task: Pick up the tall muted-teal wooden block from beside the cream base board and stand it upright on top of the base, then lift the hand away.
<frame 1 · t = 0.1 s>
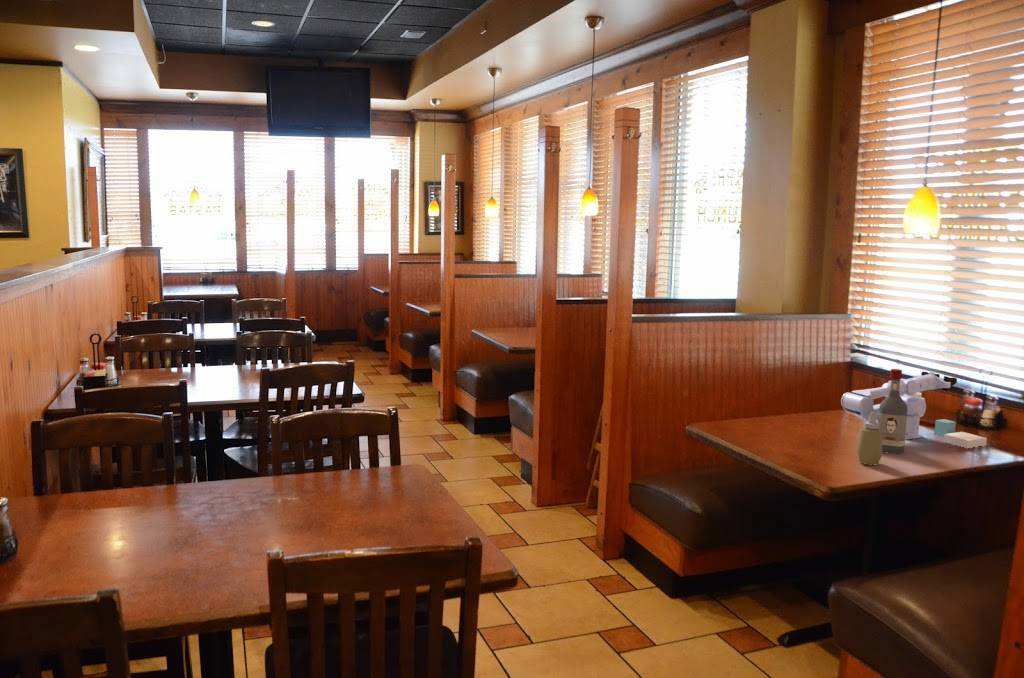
hand: (947, 378, 317), 22 cm above the table, tool horizontal, fingers open, 7 cm apart
base board: (964, 443, 303), on the table
teal block: (944, 436, 314), on the table
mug: (913, 421, 336), on the table
liquor: (889, 450, 293), on the table
squeeze bottle: (868, 463, 277), on the table
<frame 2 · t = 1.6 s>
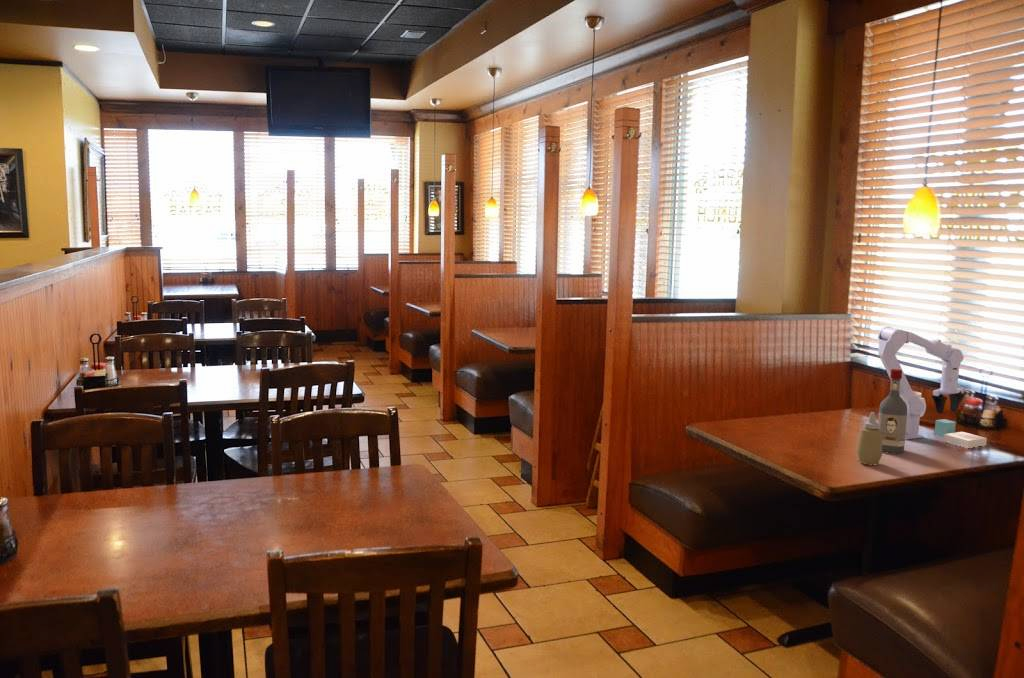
hand: (946, 412, 313), 9 cm above the table, tool pointing down, fingers open, 7 cm apart
nothing on the table moved.
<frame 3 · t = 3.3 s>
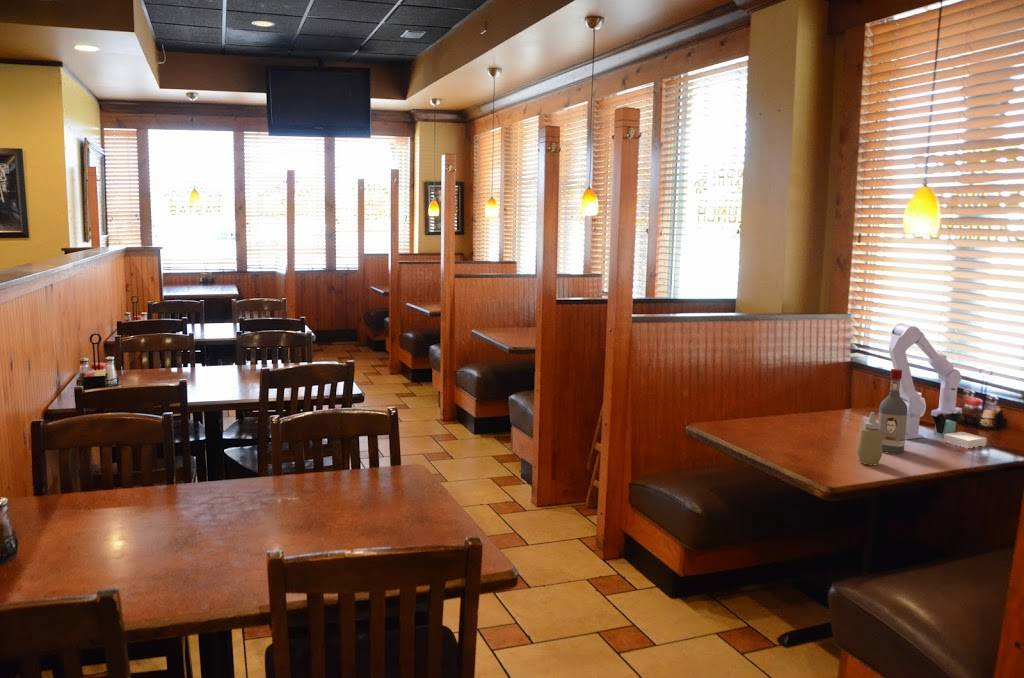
hand: (944, 432, 314), 1 cm above the table, tool pointing down, fingers closed on teal block, 5 cm apart
teal block: (944, 435, 314), on the table, touching gripper
everything else where it was.
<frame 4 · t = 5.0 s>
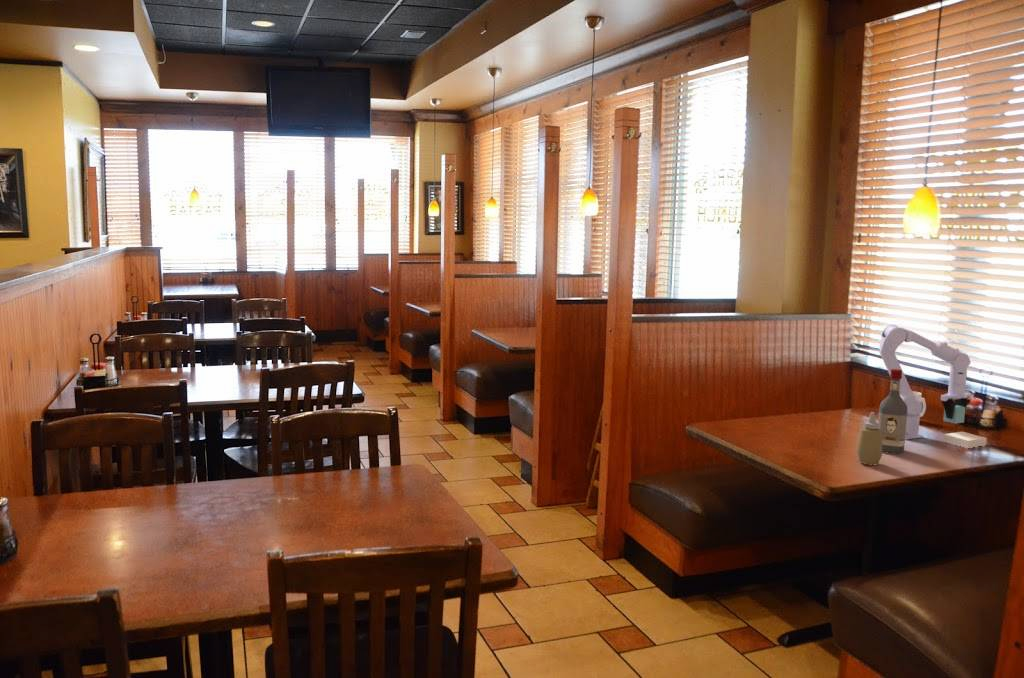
hand: (954, 417, 309), 8 cm above the table, tool pointing down, fingers closed on teal block, 5 cm apart
teal block: (953, 421, 309), point 7 cm above the table, touching gripper
everything else where it was.
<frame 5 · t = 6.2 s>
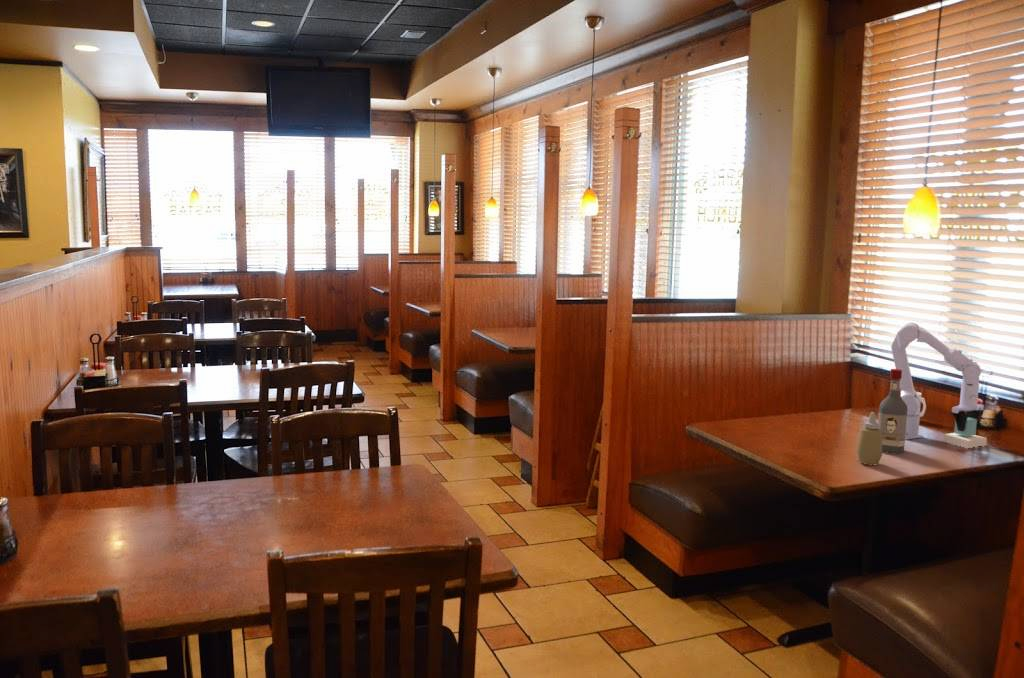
hand: (965, 429, 302), 5 cm above the table, tool pointing down, fingers closed on teal block, 5 cm apart
teal block: (964, 433, 303), point 4 cm above the table, touching gripper
everything else where it was.
when the fingers open (5 cm above the table, at t = 7.0 s): teal block stays where it is, resting on base board.
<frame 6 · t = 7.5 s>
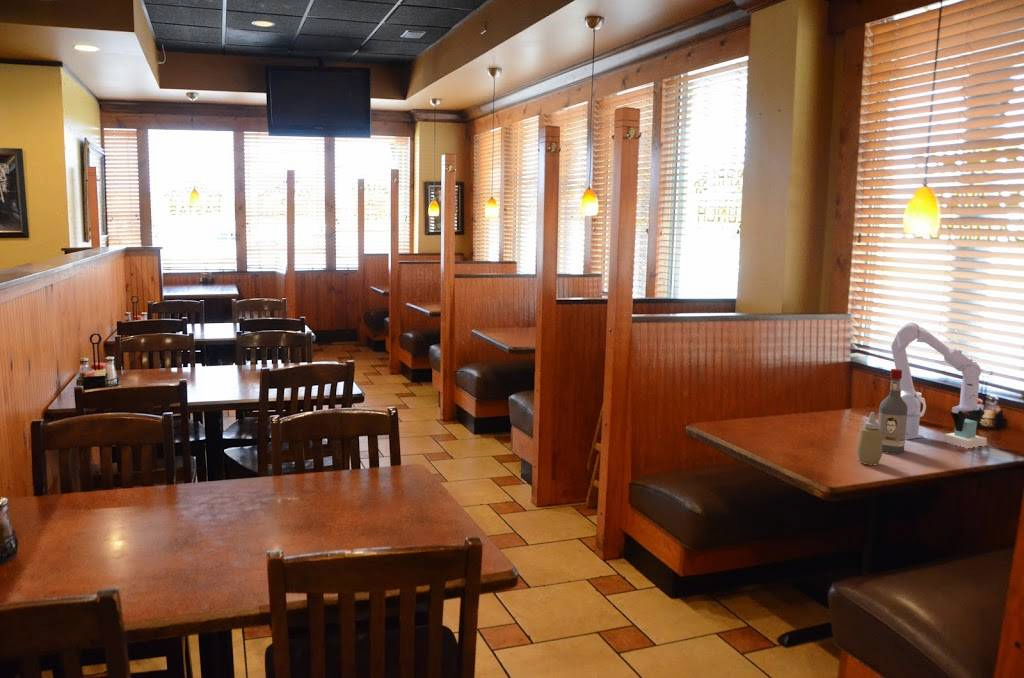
hand: (965, 429, 302), 5 cm above the table, tool pointing down, fingers open, 7 cm apart
teal block: (964, 435, 303), point 3 cm above the table, touching base board
everything else where it was.
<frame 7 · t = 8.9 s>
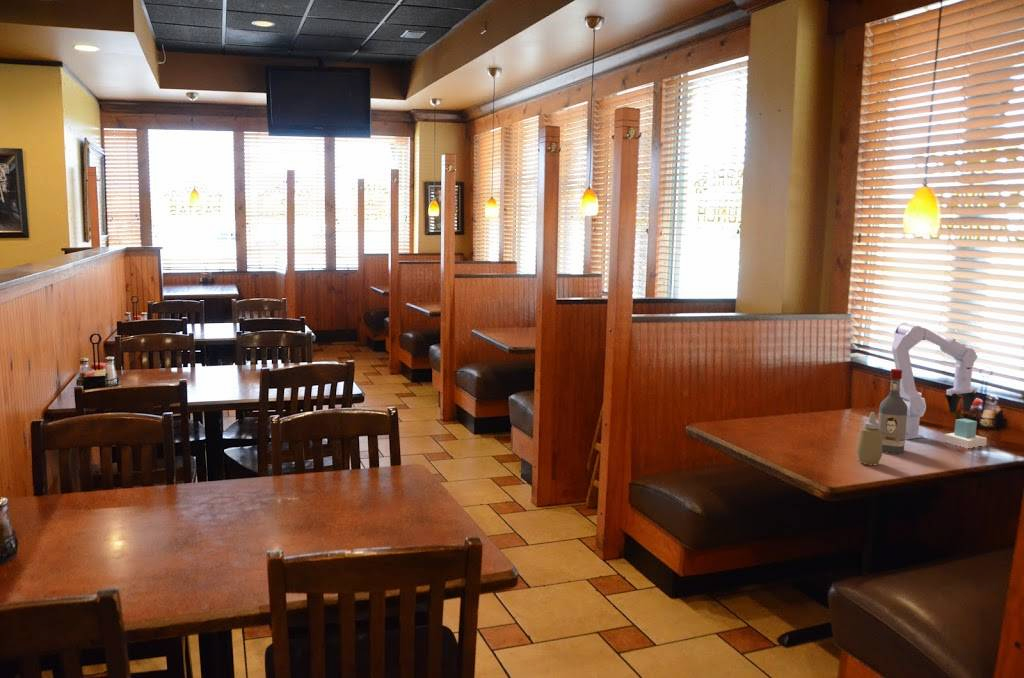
hand: (959, 411, 314), 9 cm above the table, tool pointing down, fingers open, 7 cm apart
nothing on the table moved.
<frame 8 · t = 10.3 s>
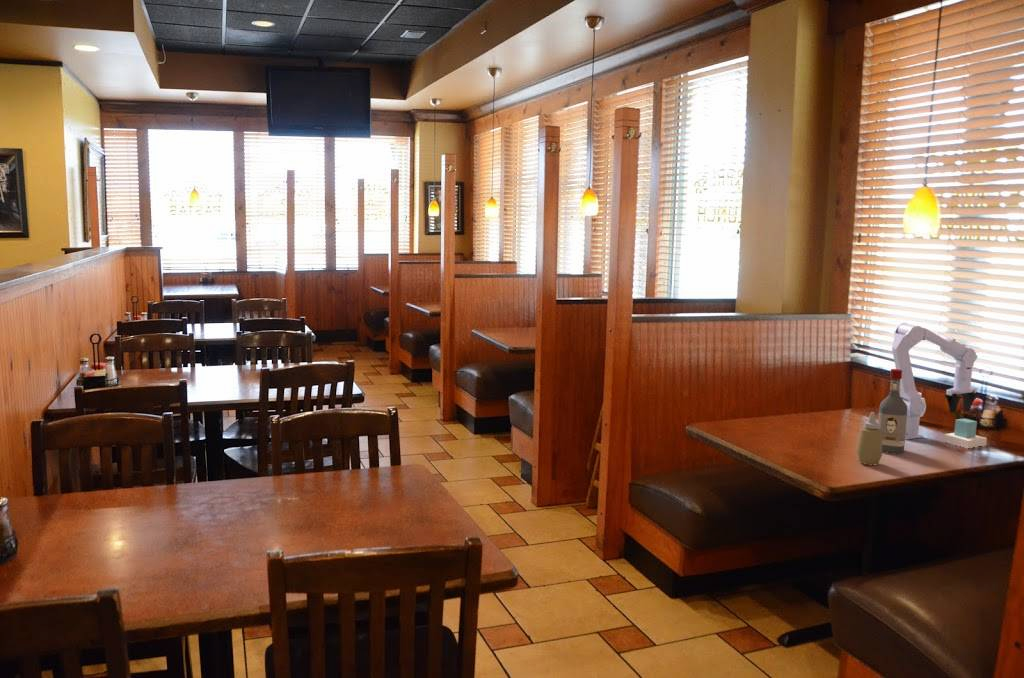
hand: (959, 411, 314), 9 cm above the table, tool pointing down, fingers open, 7 cm apart
nothing on the table moved.
at the end: teal block 0.2 cm off-centre on the base board, point 3.0 cm above the base board's base; teal block tilted 0°; the gripper is holding nothing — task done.
